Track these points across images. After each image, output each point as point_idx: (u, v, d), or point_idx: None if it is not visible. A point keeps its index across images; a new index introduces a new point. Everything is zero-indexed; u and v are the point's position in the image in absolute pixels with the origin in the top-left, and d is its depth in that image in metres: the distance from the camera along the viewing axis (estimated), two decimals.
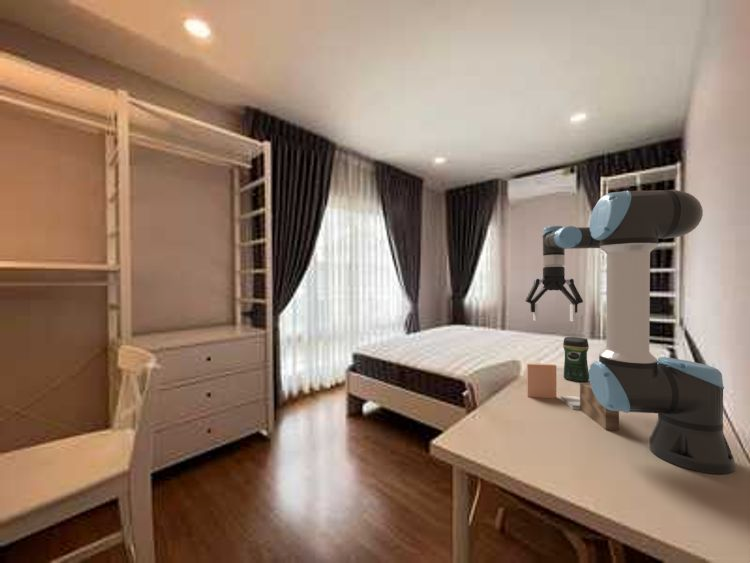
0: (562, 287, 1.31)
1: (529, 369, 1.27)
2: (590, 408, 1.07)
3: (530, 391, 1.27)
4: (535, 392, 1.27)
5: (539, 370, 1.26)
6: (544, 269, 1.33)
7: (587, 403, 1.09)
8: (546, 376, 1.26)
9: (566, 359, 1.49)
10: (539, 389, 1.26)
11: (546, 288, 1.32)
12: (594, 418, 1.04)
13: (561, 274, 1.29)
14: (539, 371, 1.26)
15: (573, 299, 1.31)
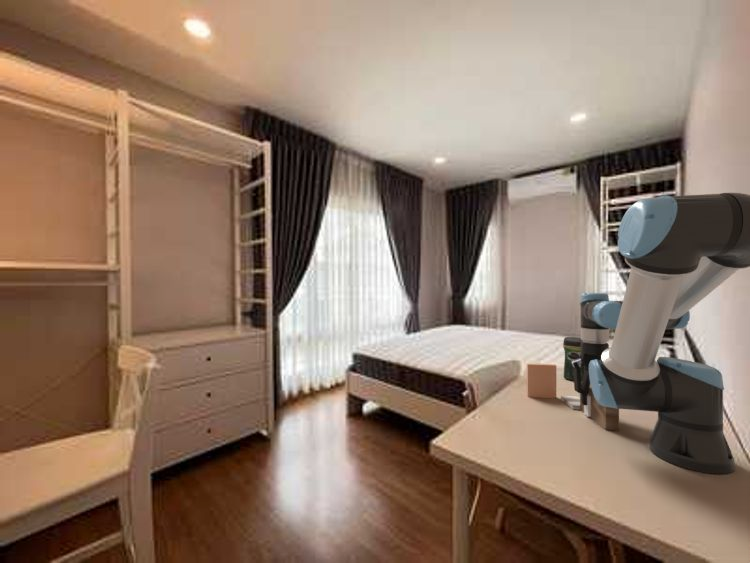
0: None
1: (529, 369, 1.27)
2: None
3: (530, 391, 1.27)
4: (535, 392, 1.27)
5: (539, 370, 1.26)
6: (583, 345, 1.08)
7: None
8: (546, 376, 1.26)
9: (566, 359, 1.49)
10: (539, 389, 1.26)
11: None
12: (594, 418, 1.04)
13: None
14: (539, 371, 1.26)
15: None
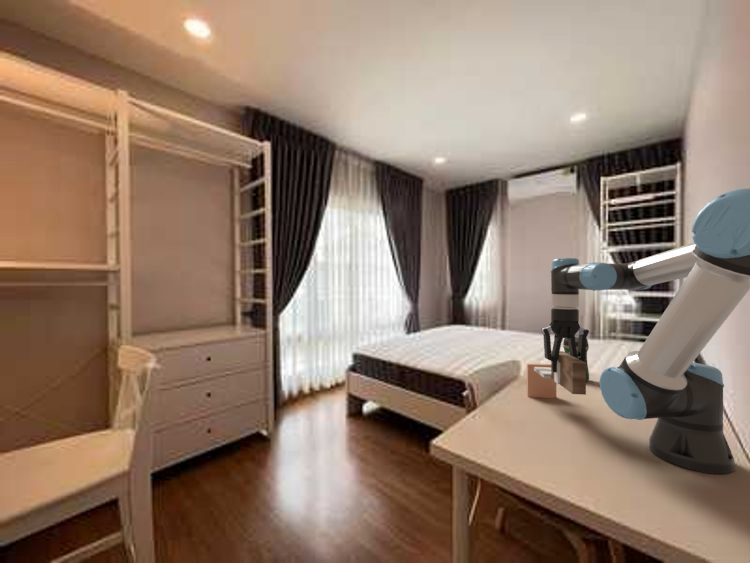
0: None
1: (529, 369, 1.27)
2: None
3: (530, 391, 1.27)
4: (535, 392, 1.27)
5: None
6: (553, 311, 1.06)
7: None
8: None
9: None
10: (539, 389, 1.26)
11: (560, 338, 1.05)
12: (563, 384, 1.03)
13: (575, 320, 1.03)
14: None
15: (575, 355, 1.05)
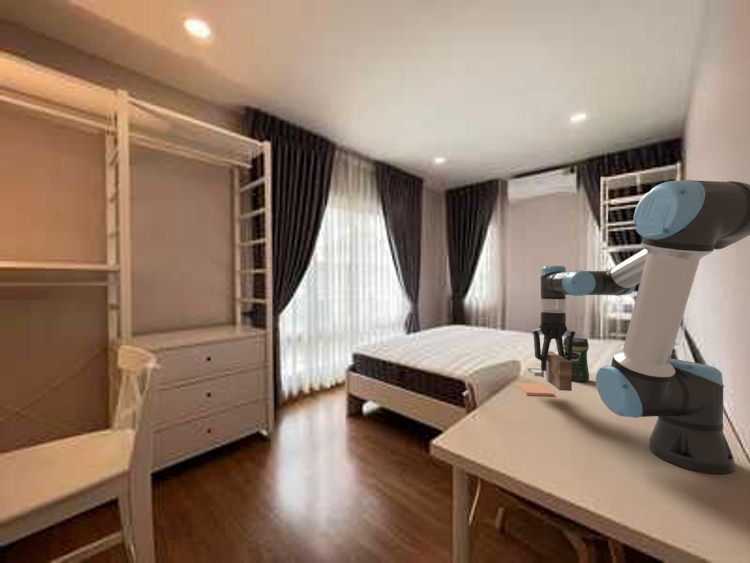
0: None
1: (520, 384, 1.39)
2: None
3: (527, 390, 1.31)
4: (532, 391, 1.30)
5: (529, 385, 1.38)
6: (542, 315, 1.16)
7: None
8: (537, 386, 1.36)
9: None
10: (535, 390, 1.31)
11: (549, 339, 1.14)
12: (551, 381, 1.12)
13: (562, 322, 1.12)
14: (529, 385, 1.38)
15: (563, 355, 1.14)
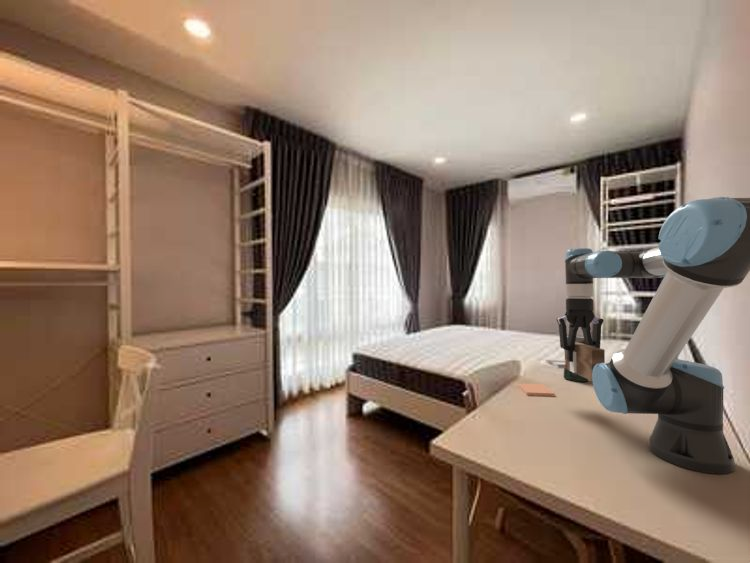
0: None
1: (520, 384, 1.39)
2: (576, 364, 1.07)
3: (527, 390, 1.31)
4: (532, 391, 1.30)
5: (529, 385, 1.38)
6: (568, 301, 1.08)
7: None
8: (537, 386, 1.36)
9: None
10: (535, 390, 1.31)
11: (576, 327, 1.06)
12: (580, 372, 1.04)
13: (590, 309, 1.05)
14: (529, 385, 1.38)
15: (591, 344, 1.06)
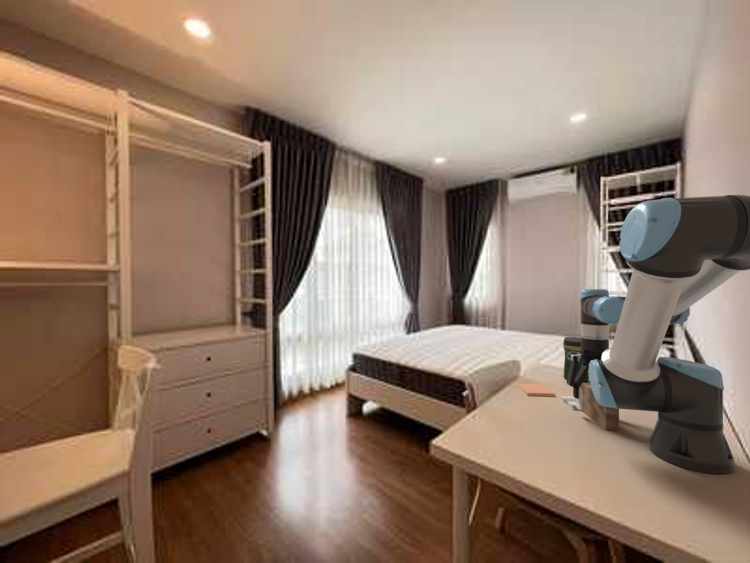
0: None
1: (520, 384, 1.38)
2: (590, 408, 1.07)
3: (527, 390, 1.30)
4: (532, 391, 1.30)
5: (529, 385, 1.38)
6: (583, 341, 1.08)
7: (587, 403, 1.09)
8: (537, 386, 1.35)
9: (566, 359, 1.49)
10: (535, 390, 1.31)
11: (588, 367, 1.07)
12: (594, 418, 1.04)
13: None
14: (529, 385, 1.37)
15: None
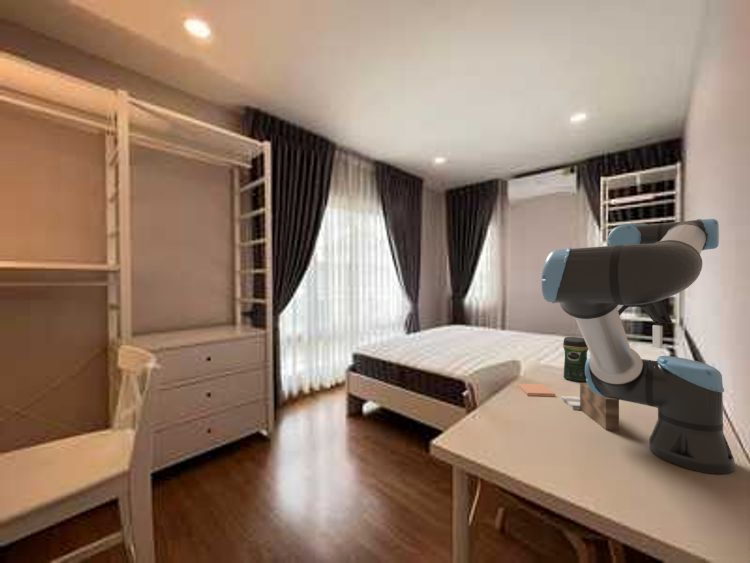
0: (647, 303, 1.01)
1: (520, 384, 1.38)
2: (590, 408, 1.07)
3: (527, 391, 1.30)
4: (533, 391, 1.30)
5: (529, 385, 1.38)
6: None
7: (587, 403, 1.09)
8: (537, 387, 1.35)
9: (566, 359, 1.49)
10: (535, 390, 1.31)
11: (627, 304, 1.01)
12: (594, 418, 1.04)
13: None
14: (529, 385, 1.37)
15: (660, 319, 1.01)
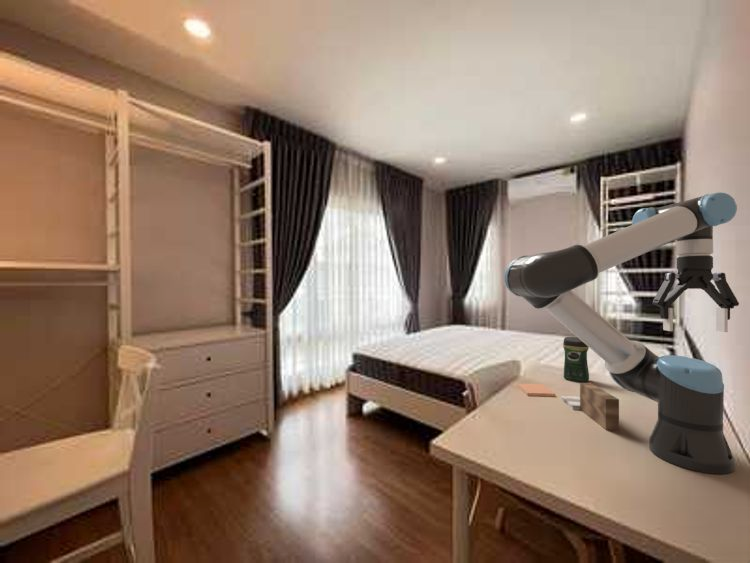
0: (709, 284, 0.94)
1: (520, 384, 1.38)
2: (590, 408, 1.07)
3: (527, 391, 1.30)
4: (533, 391, 1.30)
5: (529, 385, 1.38)
6: (682, 259, 0.96)
7: (587, 403, 1.09)
8: (537, 387, 1.35)
9: (566, 359, 1.49)
10: (535, 390, 1.31)
11: (686, 286, 0.95)
12: (594, 418, 1.04)
13: (711, 267, 0.93)
14: (529, 385, 1.37)
15: (725, 301, 0.94)
